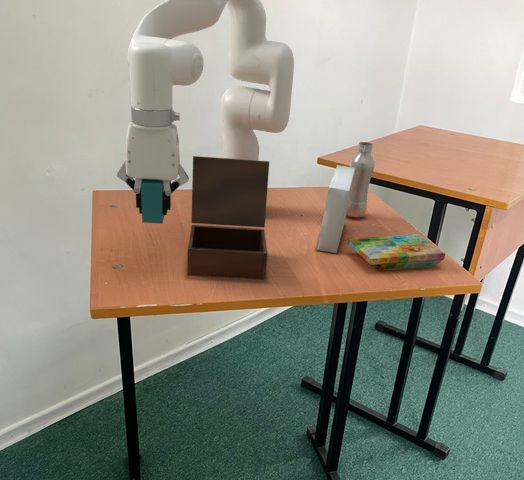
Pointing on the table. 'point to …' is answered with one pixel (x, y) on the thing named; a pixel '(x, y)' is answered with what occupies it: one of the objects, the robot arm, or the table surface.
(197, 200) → the lid
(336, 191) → the skincare box
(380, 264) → the puzzle game
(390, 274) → the table surface
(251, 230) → the chest
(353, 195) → the silver metal bottle
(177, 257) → the table surface
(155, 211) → the block
